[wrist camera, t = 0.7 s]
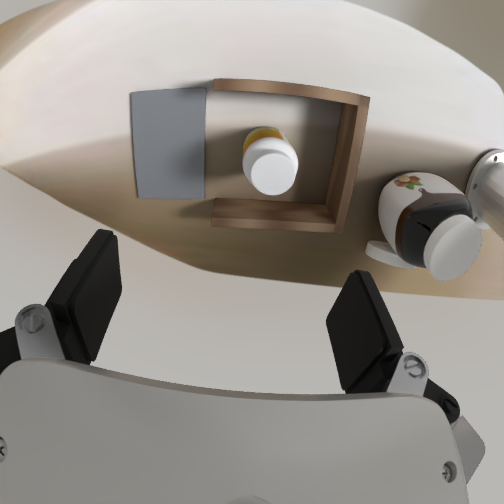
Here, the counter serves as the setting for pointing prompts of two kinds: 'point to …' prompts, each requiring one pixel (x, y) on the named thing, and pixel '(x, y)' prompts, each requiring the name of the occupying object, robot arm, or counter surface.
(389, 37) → the counter surface
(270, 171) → the supplement bottle
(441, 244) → the spread jar
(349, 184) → the open front box
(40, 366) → the robot arm
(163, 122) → the slate mat
